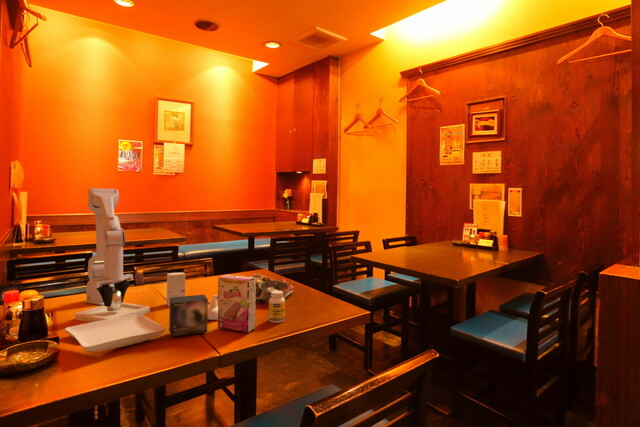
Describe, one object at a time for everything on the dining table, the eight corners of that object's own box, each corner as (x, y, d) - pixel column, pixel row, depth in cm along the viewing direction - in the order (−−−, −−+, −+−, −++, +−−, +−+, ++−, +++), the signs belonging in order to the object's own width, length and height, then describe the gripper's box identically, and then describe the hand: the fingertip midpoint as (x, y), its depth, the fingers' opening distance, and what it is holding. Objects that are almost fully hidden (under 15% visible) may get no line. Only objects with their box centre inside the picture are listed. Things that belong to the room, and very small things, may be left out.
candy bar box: (216, 328, 117) (217, 277, 116) (225, 324, 121) (226, 274, 121) (248, 333, 113) (248, 280, 113) (256, 328, 118) (256, 276, 117)
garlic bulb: (206, 315, 130) (206, 292, 130) (224, 315, 131) (224, 293, 130) (201, 321, 124) (201, 297, 124) (219, 321, 124) (220, 297, 124)
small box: (170, 338, 108) (171, 302, 108) (168, 331, 114) (168, 297, 114) (208, 332, 113) (208, 298, 113) (204, 326, 119) (204, 293, 119)
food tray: (310, 297, 160) (310, 272, 160) (292, 314, 135) (292, 285, 135) (235, 291, 168) (235, 267, 168) (205, 306, 143) (205, 279, 143)
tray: (74, 319, 123) (74, 313, 123) (116, 306, 138) (116, 301, 138) (110, 325, 118) (110, 319, 118) (149, 311, 133) (149, 306, 133)
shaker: (103, 310, 127) (103, 291, 127) (114, 306, 131) (114, 288, 131) (113, 311, 125) (113, 292, 125) (124, 308, 129) (124, 289, 129)
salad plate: (139, 322, 123) (139, 311, 123) (167, 339, 108) (167, 327, 108) (63, 338, 108) (63, 326, 108) (83, 361, 93) (83, 347, 93)
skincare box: (168, 307, 139) (168, 275, 139) (166, 304, 143) (166, 273, 142) (185, 305, 142) (185, 273, 142) (182, 302, 146) (182, 271, 146)
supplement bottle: (272, 324, 122) (272, 294, 122) (266, 319, 127) (266, 290, 127) (287, 321, 125) (287, 292, 124) (280, 317, 129) (281, 289, 129)
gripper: (103, 269, 120) (103, 311, 120) (139, 262, 133) (139, 300, 134) (87, 267, 122) (87, 308, 122) (124, 261, 136) (124, 298, 136)
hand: (113, 304), depth 128 cm, fingers closed on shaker, 4 cm apart
